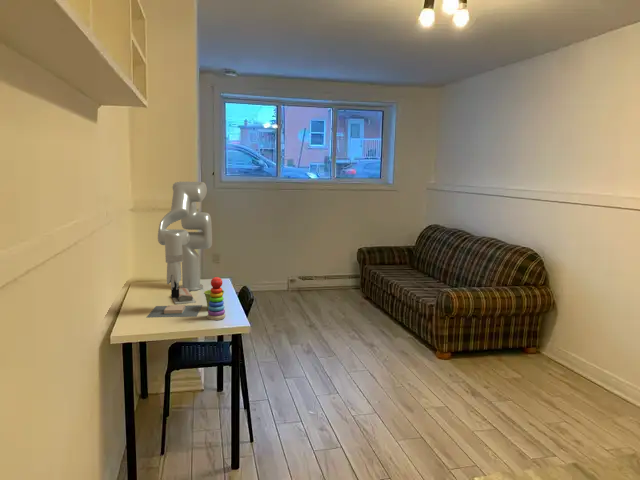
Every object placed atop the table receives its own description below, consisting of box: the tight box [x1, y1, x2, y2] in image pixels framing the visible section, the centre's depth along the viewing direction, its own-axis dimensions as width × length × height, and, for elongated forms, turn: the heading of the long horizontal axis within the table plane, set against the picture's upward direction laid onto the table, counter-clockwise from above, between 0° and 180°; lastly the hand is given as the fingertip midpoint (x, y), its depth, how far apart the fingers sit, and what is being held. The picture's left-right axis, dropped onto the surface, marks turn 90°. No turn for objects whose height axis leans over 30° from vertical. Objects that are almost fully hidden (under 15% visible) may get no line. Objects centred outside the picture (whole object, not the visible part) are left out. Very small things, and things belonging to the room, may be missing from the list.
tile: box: [164, 304, 186, 315], centre depth 222 cm, size 2×8×8 cm
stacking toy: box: [206, 276, 226, 321], centre depth 213 cm, size 8×8×19 cm
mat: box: [146, 304, 203, 319], centre depth 223 cm, size 18×22×1 cm
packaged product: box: [170, 287, 197, 305], centre depth 244 cm, size 18×5×10 cm
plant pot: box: [203, 289, 225, 311], centre depth 227 cm, size 9×9×9 cm
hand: (175, 297), depth 223 cm, fingers closed
